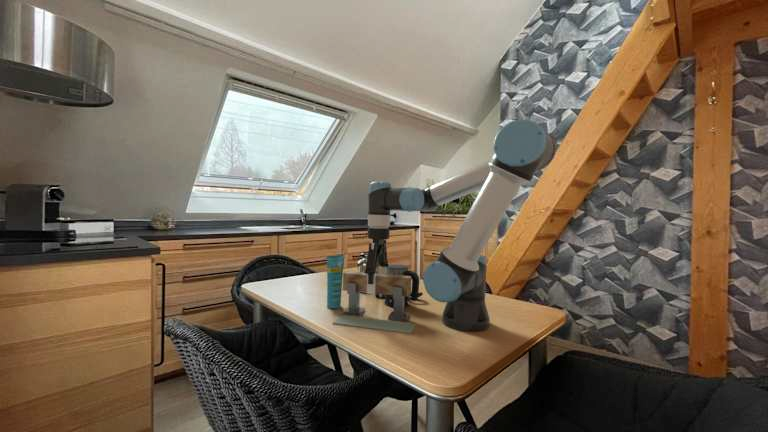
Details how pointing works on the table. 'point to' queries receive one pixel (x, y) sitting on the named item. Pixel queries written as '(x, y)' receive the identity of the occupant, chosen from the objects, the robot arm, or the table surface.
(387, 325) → the felt mat
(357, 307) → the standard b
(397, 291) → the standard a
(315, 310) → the table surface
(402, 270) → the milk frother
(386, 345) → the table surface
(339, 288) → the tube
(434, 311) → the table surface
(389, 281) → the rail
